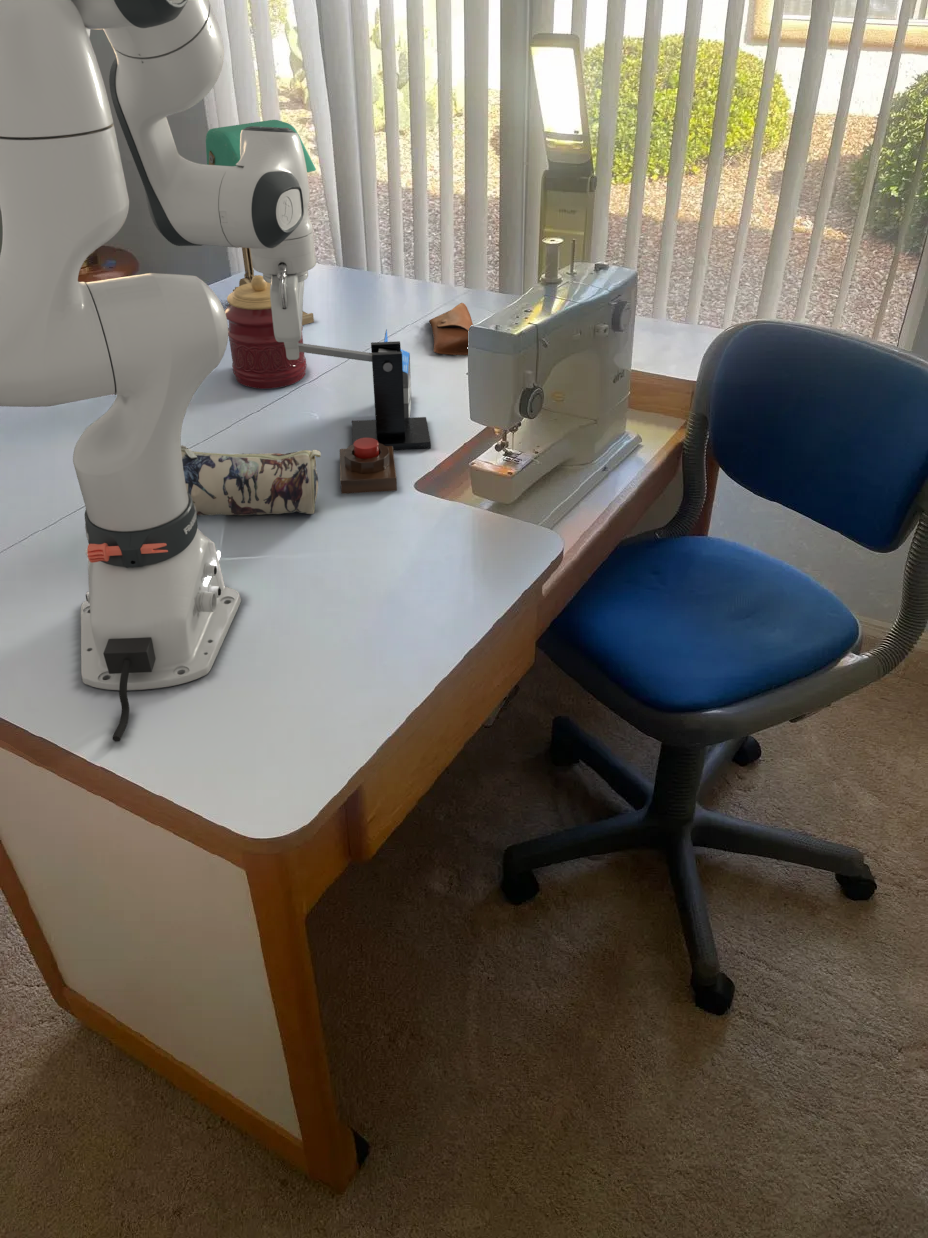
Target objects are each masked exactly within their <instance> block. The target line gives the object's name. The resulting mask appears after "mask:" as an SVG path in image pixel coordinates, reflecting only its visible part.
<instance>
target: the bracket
mask: <svg viewBox="0 0 928 1238" xmlns="http://www.w3.org/2000/svg"><path fill="white" fill-rule="evenodd" d="M370 348H371V349H370V350H371V352H370V353H372V362H371V365H372V366H371V369H372V382H373V385H372V386H373V402H374V416H375V417H374V419H361V420H357V419H356V420H351V433H352V434H351V435H352V445H353V444H354V442H355V441H356V440H358V439H360V438H373V439H376V440H377V441H378V443H381V444H383V445H385V446H393V452H394V451H410V450H413V451H414V450H427V449H428V450H429V449H430V450H431V449H432V441H431V437H430V431H429V425H428V420H427V417H426V416H420V417H419V416H417V417H410V418H405V415H404V391H403V366H402V352H401V349H402V348H401V341H398V340H397V341H388V342H384V341H376V342H370ZM378 348H381V349H388V350H395V351H397V352H378Z"/></svg>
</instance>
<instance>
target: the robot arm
mask: <svg viewBox="0 0 928 1238" xmlns="http://www.w3.org/2000/svg"><path fill="white" fill-rule="evenodd" d="M217 19H218V18H217V17H216V14H215V12H214V10H213V8H212V5H211V2H210V0H0V213H1V223H2V224H1V225H2V241H1V248H0V249H1V250H0V407H7V408H11V407H13V408H14V407H16V408H17V407H18V408H37V407H41V408H43V407H45V408H46V407H54V406H59V405H64V404H69V403H75V402H81V401H86V400H90V399H96V398H101V397H106V396H107V397H108V396H112V395H114V396H116V397H115V399H114V400H113V403H112V404H111V406H110V407H109V409H107V411H106V412H104V414H103V415H101V416H100V417H98V418H97V419H96V420H94V422H92V423H91V424H90V425H88V426H87V427H86V429H84V430H83V431H82V433H81V435H80V436H79V438H78V439H77V442H76V444H75V446H74V449H73V455H72V463H73V467H74V470H75V474H76V479H77V481H78V486H79V489H80V492H81V496H82V500H83V503H84V506H85V507H84V508H85V511H84V522H85V523H84V529H85V530H84V531H85V536H86V538H87V542H88V545H87V548H86V549H85V550H84V553H85V556H86V560H87V575H88V591H86V593H85V600H84V601H83V602H82V603H81V605H80V672H81V673H80V675H81V680H82V683H83V684H85V685H86V686H89V687H92V688H96V689H100V690H107V691H118V693H119V701H120V706H121V715H120V719H119V723H118V725H117V727H116V728H115V731H114V733H113V735H112V740H113V741H114V742H115V743H118V742H120V741H121V739H122V736H123V734H124V732H125V730H126V728H127V725H128V722H129V718H130V702H129V698H128V691H141V690H143V691H144V690H151V689H152V690H153V689H162V688H168V687H169V688H170V687H173V686H179V685H182V684H187V683H190V682H192V681H195V680H198V679H200V678H203V677H205V676H207V674H209V673H210V672H211V670H212V667H213V665H214V663H215V662H216V659H217V657H218V655H219V652H220V650H221V648H222V645H223V644H224V641H225V638H226V637H227V635H228V632H229V630H230V627H231V625H232V623H233V621H234V618H235V616H236V614H237V612H238V610H239V608H240V605H241V603H242V598H241V595H240V592H239V591H237V590H236V589H234V588H232V587H228V586H226V585H225V580H224V576H223V573H222V568H221V565H220V558H221V556H222V555H221V551H220V550H217V548H216V544H215V542H214V541H213V540H211V539H210V538H209V537H207V536H206V535H205V534H204V533H203V532H202V531H200V529H199V528H198V527H199V524H198V518H197V516H198V515H196V514H197V513H196V508H195V506H194V503H193V500H192V497H191V495H190V494H189V493H188V492H187V488H186V483H185V477H184V471H183V463H182V453H181V445H182V429H183V423H184V419H185V416H186V413H187V410H188V408H189V405H190V404H191V401H192V399H193V397H194V395H195V394H196V391H197V390H198V388H199V387H200V386H201V384H202V383H203V382H204V381H205V379H206V378H208V376H209V375H210V374H211V373H212V372H213V371H214V370H215V369H216V368H217V367H218V366H219V365H220V363H221V361H222V360H223V358H224V356H225V353H226V350H227V347H228V341H229V336H228V328H229V321H228V319H227V317H226V314H225V309H224V306H223V304H222V302H221V300H220V298H219V297H218V296H217V294H216V293H215V291H214V290H213V289H212V288H211V287H210V286H209V285H208V283H206V282H205V281H203V280H202V279H201V278H199V277H198V276H196V275H192V274H191V275H189V274H180V273H179V274H178V273H176V274H175V273H160V272H159V273H158V272H157V273H156V272H149V273H142V274H135V275H128V276H122V277H121V276H120V277H114V278H108V279H107V278H106V279H101V280H94V281H87V282H85V281H79V275H80V271H81V268H82V266H83V264H84V262H85V261H86V260H87V259H88V258H89V256H90V255H91V254H92V253H93V252H95V251H96V250H97V249H100V247H102V246H104V245H105V244H106V243H108V242H109V241H110V240H111V239H112V238H114V237H115V236H116V235H117V234H118V233H119V232H120V230H121V229H122V227H123V226H124V225H125V222H126V220H127V219H128V214H129V209H130V197H129V193H128V187H127V183H126V178H125V174H124V169H123V164H122V158H121V152H120V147H119V144H118V139H117V138H118V137H117V133H116V128H115V124H114V119H113V114H112V109H111V105H110V101H109V98H108V97H109V96H108V93H107V89H106V86H105V82H104V79H103V75H102V72H101V69H100V65H99V62H98V59H97V55H96V53H95V50H94V48H93V45H92V41H91V39H90V37H91V30H103V31H104V33H105V35H106V38H107V40H108V42H109V43H110V45H111V48H112V49H113V52H114V54H115V58H114V59H113V61H112V63H111V66H110V68H109V69H110V70H109V76H108V84H109V85H108V86H109V93H110V98H111V101H112V104H113V109H114V112H115V114H116V118H117V120H118V123H119V125H120V128H121V130H122V133H123V135H124V136H123V137H124V138H125V141H126V144H127V147H128V149H129V151H130V154H131V158H132V159H133V162H134V165H135V167H136V170H137V172H138V175H139V177H140V180H141V183H142V185H143V188H144V192H145V197H146V204H147V208H148V209H147V210H148V212H149V216H150V219H151V221H152V223H153V225H154V226H155V228H156V229H157V230H158V232H159V233H160V234H161V235H162V236H163V237H164V238H165V239H166V241H168V242H169V243H170V244H172V245H174V246H176V247H199V246H210V247H223V248H236V249H239V248H241V249H242V248H250V250H251V258H252V266H253V270H254V271H256V272H258V273H260V274H262V276H263V279H264V280H265V281H266V282H268V283H271V284H270V300H271V310H272V320H273V329H274V335H275V339H276V341H277V342H284V345H285V348H286V356H287V359H289V360H297V359H298V358H299V347H298V342H299V341H300V340H301V334H302V335H303V329H302V327H303V325H302V314H303V311H304V294H305V281H306V280H307V279H308V278H309V271H310V270H312V269H314V268H315V267H316V265H317V259H316V258H317V257H316V249H315V237H314V227H313V224H312V221H311V218H310V214H309V203H310V198H311V194H310V183H309V176H308V172H307V168H306V163H305V157H304V153H303V148H302V145H301V141H300V138H301V137H300V138H299V136H300V135H299V133H298V132H297V133H298V134H297V133H296V132H294V131H293V130H291V129H288V128H278V127H260V126H250V127H246V128H245V129H243V130H242V131H241V135H240V160H239V162H238V163H237V164H236V166H219V165H207V164H203V163H198V162H195V161H191V160H189V159H187V158H185V157H184V156H182V155H180V153H179V150H178V148H177V146H176V143H175V142H176V141H175V139H174V137H173V133H172V130H171V127H170V124H169V121H168V118H167V117H169V116H172V115H175V114H178V113H182V112H185V111H187V110H189V109H191V108H192V107H194V106H196V105H197V104H199V103H200V102H201V101H203V99H204V98H206V97H207V95H208V94H209V93H210V92H211V91H212V90H213V88H214V87H215V85H216V83H217V82H218V80H219V78H220V76H221V73H222V69H223V65H224V59H225V47H224V46H225V45H224V40H223V35H222V31H221V29H220V25H219V22H218V20H217ZM298 135H299V136H298Z"/></svg>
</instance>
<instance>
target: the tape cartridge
mask: <svg viewBox="0 0 928 1238" xmlns="http://www.w3.org/2000/svg"><path fill="white" fill-rule="evenodd" d="M388 337H389V336H388V329H387V328H386V329H385V333H384V337H383V338H384V339H383V342H389V339H388ZM401 352H402V366H403V391H404V415H405V418H411V411H412V410H411V409H412V381H411V379H412V376H411V353H410V352H409V351H406V350H404V349H402V348H401Z"/></svg>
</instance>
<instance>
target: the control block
mask: <svg viewBox="0 0 928 1238" xmlns="http://www.w3.org/2000/svg"><path fill="white" fill-rule="evenodd" d="M378 444H379V455H378V456H377V457H374V458H370V459H361V458H357V457H355V455H354V444H353V443H352V444H351V445H348V446H347V447H346V448H339V476H340V477H339V480H340V493H341V494H342V495H343V494H344V495H345V494H361V493H363V494H364V493H379V492H380V493H381V492H397V491H398V482H397V471H396V463H395V455H394V454H395V453H394V451H393V446H385V445H383V444H381V443H378Z"/></svg>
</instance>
